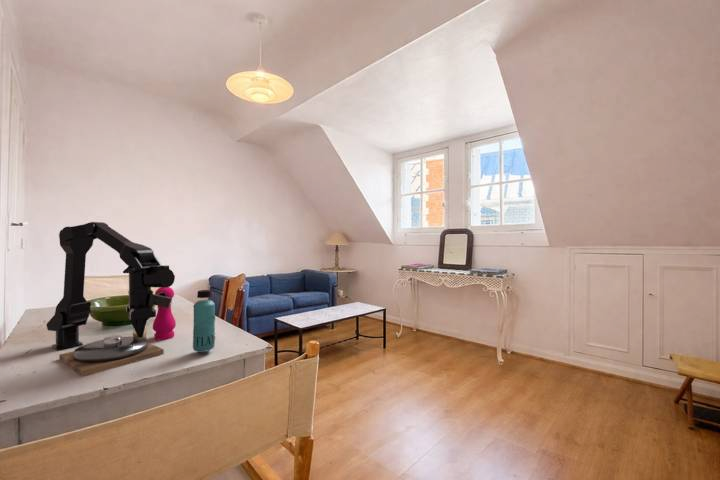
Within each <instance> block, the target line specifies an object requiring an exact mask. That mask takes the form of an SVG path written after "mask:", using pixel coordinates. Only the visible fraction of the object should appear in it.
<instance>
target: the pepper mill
mask: <svg viewBox="0 0 720 480" xmlns="http://www.w3.org/2000/svg"><path fill="white" fill-rule="evenodd" d="M173 289H174V288H172V287H171V286H170V287H158V289H156V291H155V292H154V294H159V293H160V292H163V293H166V297H170V298H172V300H171V303H170V306H169V308H164V307H162V306H157V311H156V317H154V321H153V322H152V323H153V324H152V330H153V331H154V334H153V339H154V340H155V341H166V340H170V339H172V338H174V337H175V331H174V329H175V328H176V326H177V325H176V324H177V323H176V319H175V316H174V314H173V313H172V304H173V298H174V296H175V291H174V290H173Z"/></svg>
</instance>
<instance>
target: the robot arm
mask: <svg viewBox="0 0 720 480" xmlns="http://www.w3.org/2000/svg"><path fill="white" fill-rule="evenodd" d="M58 238H59V246H60V247H61V249H62V250H63V252H64V253H65V262H64V264H65V265H64V266H65V267H64V281H63V296H62V298H61V299H60V301H59V302H58V303H57V305H56V307H55V311H54V315H53V316H52V317H51V318H50V319H49V320H48V322H47V323H46V324H45V325H46V329H47V331H49V332H50V331H51V332H55V343H54V344H51V347H52V348H54V350H56V351H60V350H65V349H70V348H76V347H78V346H79V347H81V346H83V345H84V344H83V342H81V341H80V326H85V325H87V322H88V320H89V319H88V318H89V317H90V314H91V313H92V311H91V306H92V303H91V301H87V300H86V298H85V297H84V294H85V292H84V291H85V274H86V273H85V272H86V261H87V260H86V259H87V257H86V256H87V253H88V252H89V251H90V249H92V247H93V245H94V240H96V239H98V240H100V241H101V242H103V243H104V244H105V245H107V246H108V247H109V248H111V249H112V250H114V251H116V253H118V254H119V258H120V260H122V262H124V264H126V266H127V267H126V268H125V269H123V271H122V273H123V274H128V290H127V291H128V303H127V304H126V306H125V310H126V313H129V314H128V315H127V316H128V319H129V321H130V323H131V325H132V328H133V327H134V329H135V331H136V333H137V335H138V337H139V338H140V337H143V334H144V330H145V326H146V327H147V321H148V320H150V319H151V318H156V316H157V310H156V309H155V308H154V306H157V307H158V306H162V307H164V308H169V306H170V303H171V300H172V301H173V298H170V297H166V293H163V292H160V293H159V294H155V293H154V291H153V290H152V288H161V287H170V288H171V286H173V285H174V283H175V281H176V280H175V278H176V274H175V273H174V272H173V270H172V269H170V265H162V264H161V262H160V260H159V259H158V257H157V256H156V254H155V253H154V252H155V251H154V250H153V249H152V248H151V247H148V246H146V245H144V244H140V243H136V242H133V241H132V240H130V239H129V238H127V237H126V236H123V234H121V233H119V232H118V231H116V230H115V229H113V228H112V227H110V226H109V224H107V223H105V222H97V221H90V222H88V223H84V224H79V225H74V226H65V227H63V228H62V229H61V230H60V231H59V232H58ZM174 274H175V275H174Z"/></svg>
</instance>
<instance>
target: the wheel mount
mask: <svg viewBox="0 0 720 480" xmlns="http://www.w3.org/2000/svg"><path fill="white" fill-rule="evenodd" d="M164 353H165V352H164V348H162V347H159V346H158V345H154V344H152V343H150V342H148V347H147V348H146V349H145V350H143V351H142V352H139V353H137V354H134V355H131V356H128V357H124V358H120V359H115V360H110V361H102V362H79V361H76V360H74V350H73V351H68V352H64V353H59V355H58V356H59V357H58V359H59V360H60V361H61V362H62V363H64V364H65V365H66V366H68V367H69V368H70V369H72V370H73V371H74V372H75V373H77V375H78V374H79V375H80V376H81V377H85V376H91V375H93V374H96V373H100V372H104V371H107V370H111V369H114V368H118V367H121V366H125V365H129V364H132V363H136V362H140V361H144V360H147V359H152V358H154V357H159V356H161V355H164Z"/></svg>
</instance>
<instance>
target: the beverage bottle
mask: <svg viewBox="0 0 720 480" xmlns="http://www.w3.org/2000/svg"><path fill="white" fill-rule="evenodd" d="M196 296H197V297H196V298H198V299H200V300H197V301H196V302H194V304H193V330H192V349H193V351H194V352H199V353H200V352H207V351H210V350H213V349H214V348H215V345H216V343H215V342H216V327H215V326H216V325H215V324H216V310H215V308H216V307H215V306H216V304H215V302H214V301H213V300H212V299H208V298H212V290H211V289H201V290H198V291H197V295H196ZM206 298H207V299H206Z"/></svg>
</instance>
